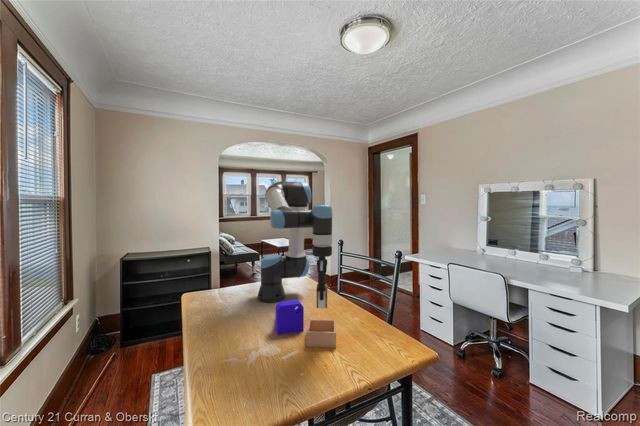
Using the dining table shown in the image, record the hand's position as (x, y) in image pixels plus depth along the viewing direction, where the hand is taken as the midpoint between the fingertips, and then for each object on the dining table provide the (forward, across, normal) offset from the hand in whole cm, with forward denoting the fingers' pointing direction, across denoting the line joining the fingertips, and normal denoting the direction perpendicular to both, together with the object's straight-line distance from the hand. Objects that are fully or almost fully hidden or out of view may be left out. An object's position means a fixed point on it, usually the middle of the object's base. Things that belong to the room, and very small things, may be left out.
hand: (322, 305), depth 104 cm
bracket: (+14, -13, -16) cm, 25 cm away
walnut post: (0, 0, 0) cm, 0 cm away
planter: (+14, 0, 0) cm, 14 cm away
